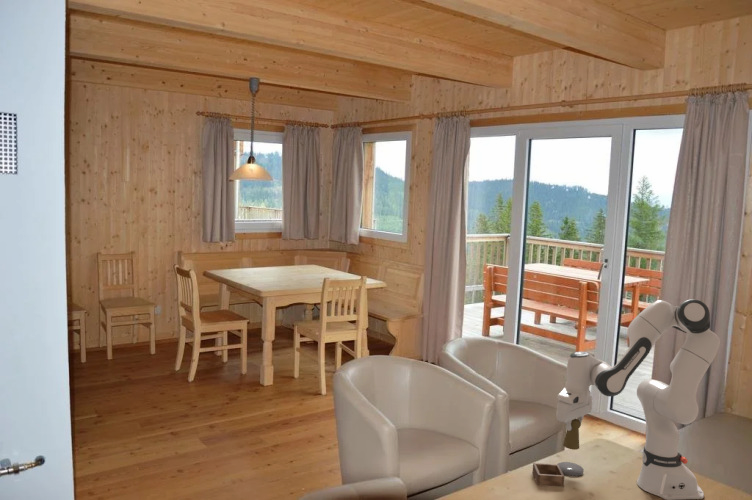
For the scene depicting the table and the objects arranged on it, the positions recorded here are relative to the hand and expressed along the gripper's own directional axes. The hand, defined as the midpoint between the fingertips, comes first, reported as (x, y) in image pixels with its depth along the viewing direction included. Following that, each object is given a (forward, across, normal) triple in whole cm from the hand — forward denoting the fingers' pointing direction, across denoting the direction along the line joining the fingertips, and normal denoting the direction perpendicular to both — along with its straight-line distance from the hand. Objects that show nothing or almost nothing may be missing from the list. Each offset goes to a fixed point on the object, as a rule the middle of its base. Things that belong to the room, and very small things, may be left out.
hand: (573, 428), depth 240 cm
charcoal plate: (+17, 0, 0) cm, 17 cm away
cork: (+8, 0, 0) cm, 8 cm away
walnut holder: (+17, +14, -1) cm, 22 cm away
